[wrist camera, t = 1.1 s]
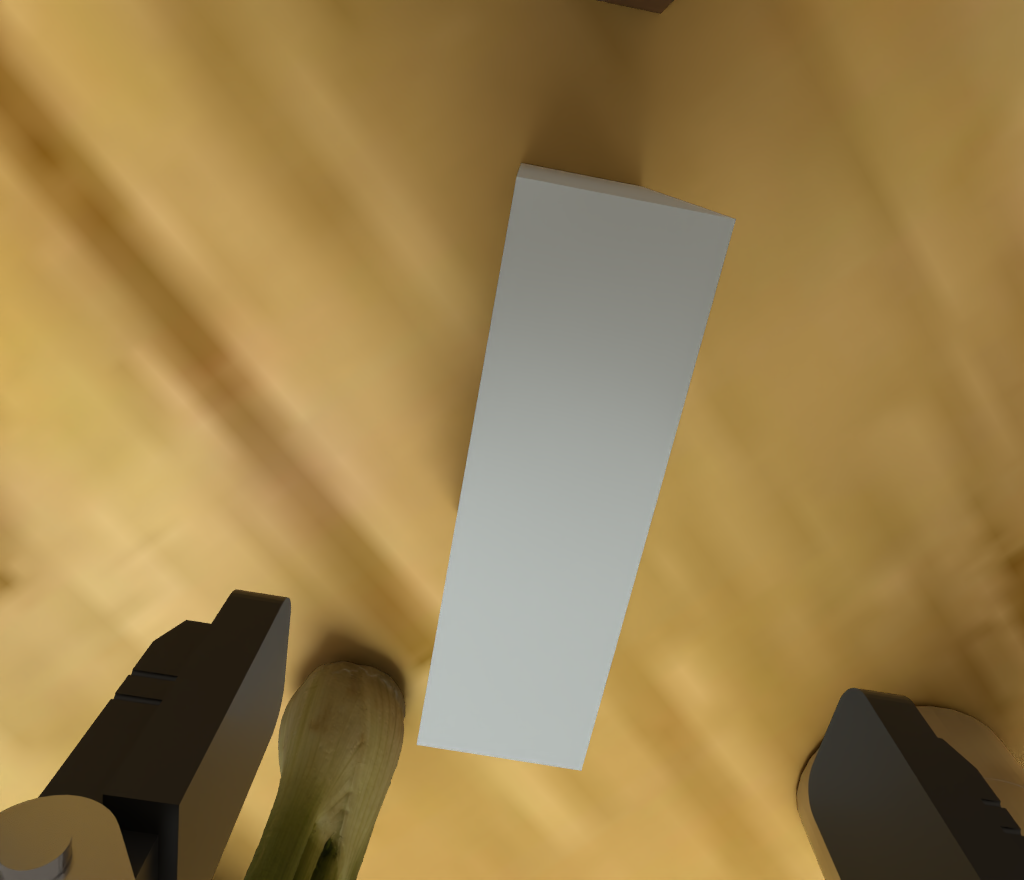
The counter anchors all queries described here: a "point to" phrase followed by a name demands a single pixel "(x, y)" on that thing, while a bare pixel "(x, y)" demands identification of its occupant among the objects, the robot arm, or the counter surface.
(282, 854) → the fennel bulb
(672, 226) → the plain gray rectangular block
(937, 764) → the robot arm
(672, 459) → the counter surface
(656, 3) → the walnut stand
